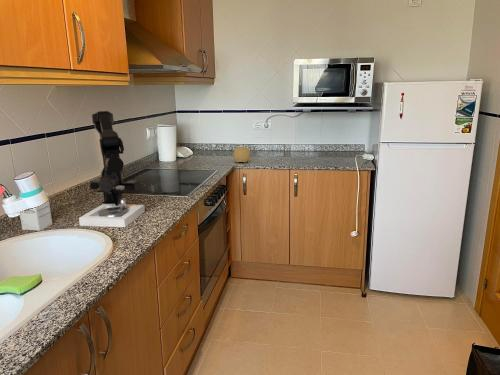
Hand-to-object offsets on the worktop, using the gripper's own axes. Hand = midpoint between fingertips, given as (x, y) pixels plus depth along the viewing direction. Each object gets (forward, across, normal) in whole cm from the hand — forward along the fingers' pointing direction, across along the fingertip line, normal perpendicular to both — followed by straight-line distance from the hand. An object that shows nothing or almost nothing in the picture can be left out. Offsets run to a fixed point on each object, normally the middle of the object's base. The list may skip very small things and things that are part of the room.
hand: (117, 205), depth 152 cm
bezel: (+4, 0, -4) cm, 6 cm away
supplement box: (+4, -24, -16) cm, 29 cm away
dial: (+3, 0, -4) cm, 5 cm away
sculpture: (+4, +32, +115) cm, 119 cm away
